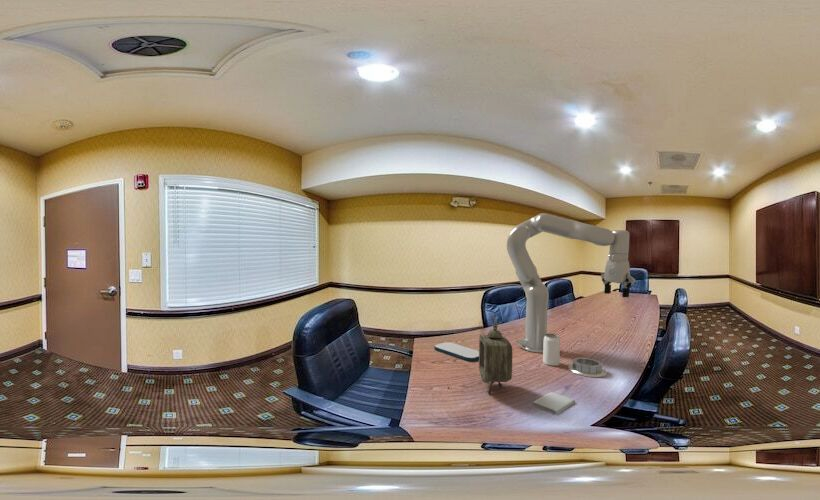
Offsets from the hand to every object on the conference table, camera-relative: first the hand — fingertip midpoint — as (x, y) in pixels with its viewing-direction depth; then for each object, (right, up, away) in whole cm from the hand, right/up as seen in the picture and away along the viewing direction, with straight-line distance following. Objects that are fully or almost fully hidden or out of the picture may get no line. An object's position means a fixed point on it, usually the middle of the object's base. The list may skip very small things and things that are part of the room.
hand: (616, 295), depth 168 cm
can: (-34, -28, -12) cm, 45 cm away
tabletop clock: (-64, -28, -37) cm, 79 cm away
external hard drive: (-71, -27, +1) cm, 76 cm away
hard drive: (-47, -30, -49) cm, 74 cm away
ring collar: (-22, -28, -19) cm, 41 cm away
